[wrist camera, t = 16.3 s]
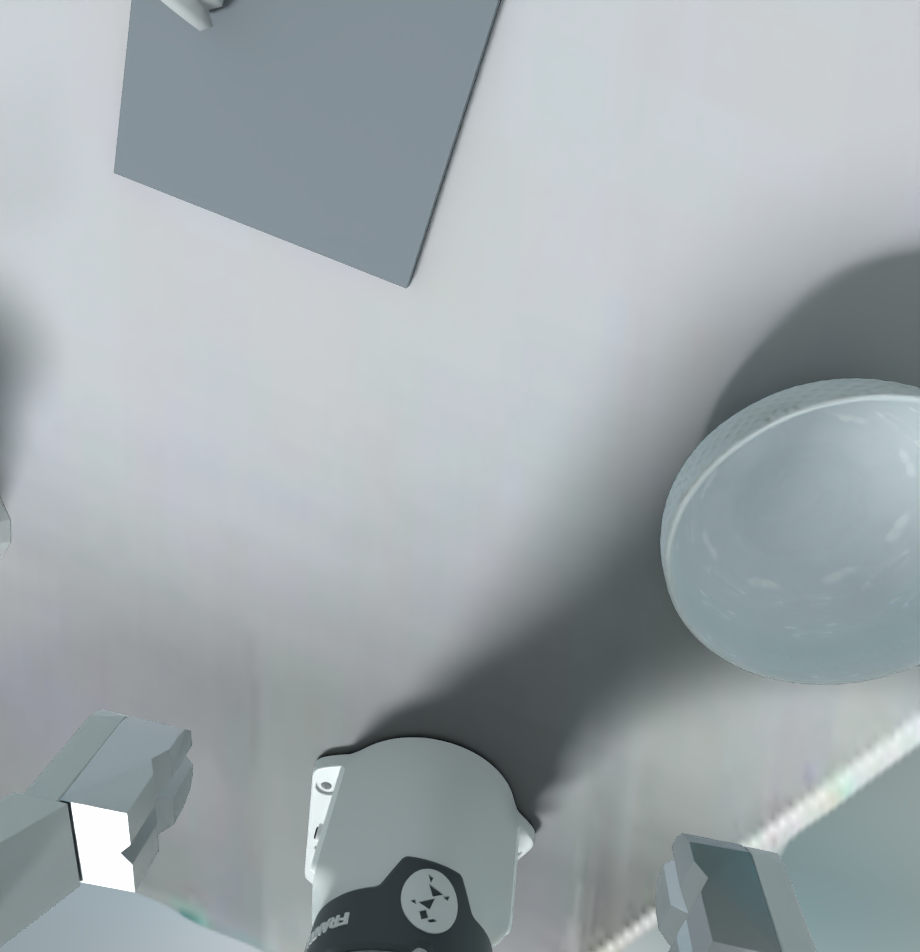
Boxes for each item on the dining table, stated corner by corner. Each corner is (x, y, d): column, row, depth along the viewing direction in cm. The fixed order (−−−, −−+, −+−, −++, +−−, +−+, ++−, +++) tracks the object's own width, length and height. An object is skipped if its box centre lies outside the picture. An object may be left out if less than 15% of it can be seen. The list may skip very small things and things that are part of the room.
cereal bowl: (964, 322, 32) (1070, 357, 26) (942, 587, 39) (1022, 668, 33) (626, 387, 36) (648, 433, 29) (659, 623, 42) (682, 702, 36)
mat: (408, 286, 34) (406, 288, 33) (122, 172, 33) (113, 172, 32) (561, -190, 26) (562, -201, 25) (181, -364, 25) (170, -380, 24)
